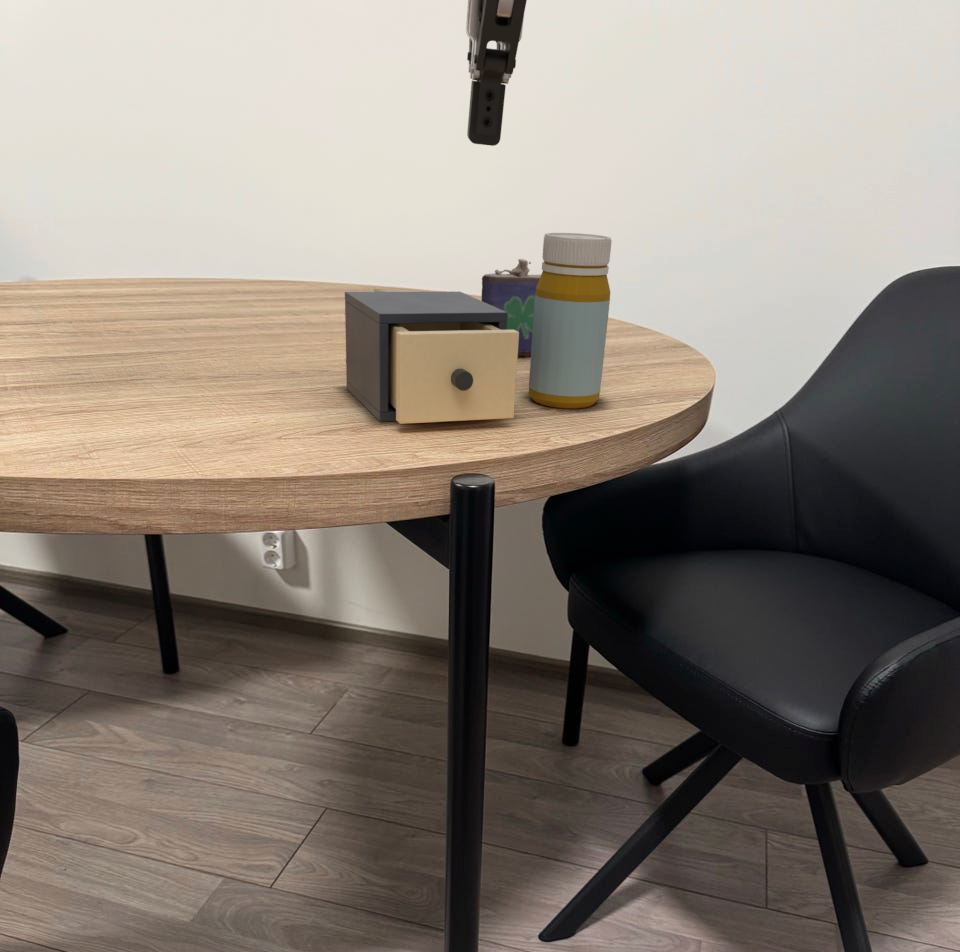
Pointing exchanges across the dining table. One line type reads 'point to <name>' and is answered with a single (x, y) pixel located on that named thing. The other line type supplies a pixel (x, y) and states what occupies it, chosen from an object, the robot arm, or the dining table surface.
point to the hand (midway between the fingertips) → (483, 143)
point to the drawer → (451, 371)
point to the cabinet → (370, 334)
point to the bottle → (570, 320)
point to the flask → (514, 300)
